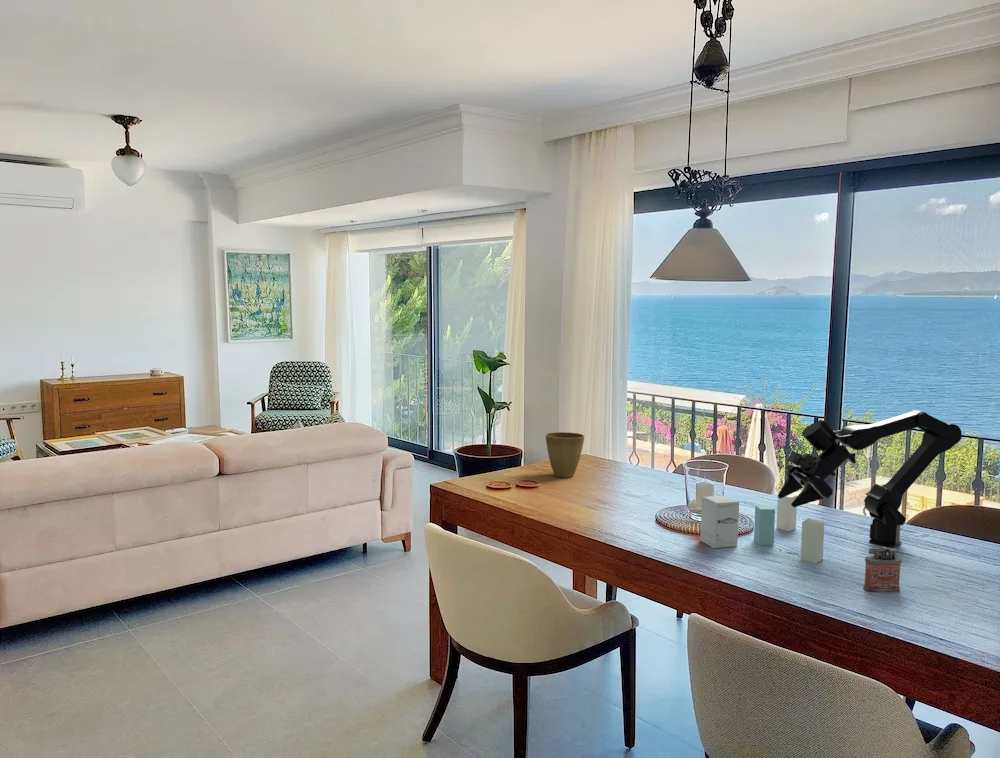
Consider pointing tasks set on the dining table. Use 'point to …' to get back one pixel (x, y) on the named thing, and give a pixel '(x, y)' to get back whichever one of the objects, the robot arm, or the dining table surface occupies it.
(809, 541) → the sage post
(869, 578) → the lighter
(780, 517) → the off-white post
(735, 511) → the supplement box
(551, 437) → the plant pot
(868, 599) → the dining table surface
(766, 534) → the teal post
